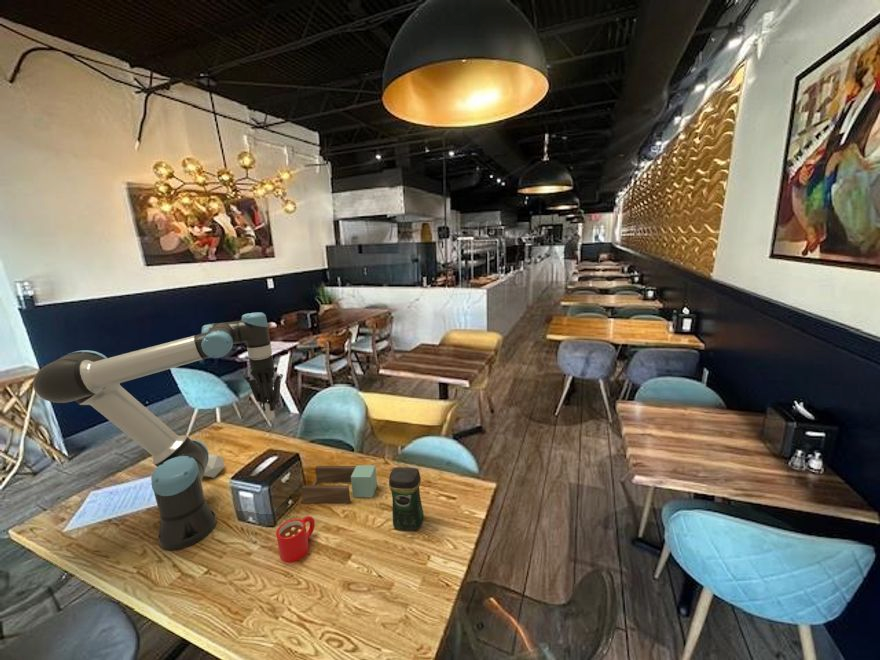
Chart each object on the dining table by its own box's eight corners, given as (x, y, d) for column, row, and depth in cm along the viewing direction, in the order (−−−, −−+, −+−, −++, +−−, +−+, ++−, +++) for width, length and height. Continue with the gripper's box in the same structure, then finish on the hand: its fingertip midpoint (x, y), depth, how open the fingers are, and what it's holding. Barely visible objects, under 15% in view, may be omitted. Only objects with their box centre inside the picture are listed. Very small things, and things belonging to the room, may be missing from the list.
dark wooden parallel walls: (348, 503, 127) (347, 488, 125) (300, 503, 128) (298, 488, 127) (359, 479, 139) (358, 465, 138) (315, 479, 141) (313, 465, 139)
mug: (324, 535, 113) (321, 513, 111) (294, 566, 102) (290, 542, 101) (305, 528, 116) (302, 506, 115) (274, 557, 106) (269, 534, 104)
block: (372, 497, 129) (370, 477, 127) (353, 497, 130) (350, 477, 128) (377, 484, 136) (375, 465, 134) (358, 484, 136) (356, 465, 135)
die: (231, 472, 150) (225, 448, 153) (216, 474, 141) (210, 449, 144) (212, 481, 149) (206, 457, 152) (195, 483, 141) (190, 458, 144)
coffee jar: (425, 514, 120) (422, 463, 115) (420, 533, 112) (416, 479, 108) (397, 512, 121) (392, 462, 117) (389, 530, 114) (384, 477, 110)
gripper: (283, 353, 132) (292, 413, 137) (249, 354, 133) (259, 414, 139) (273, 359, 125) (283, 423, 130) (236, 360, 126) (248, 423, 131)
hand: (271, 418), depth 134 cm, fingers closed
